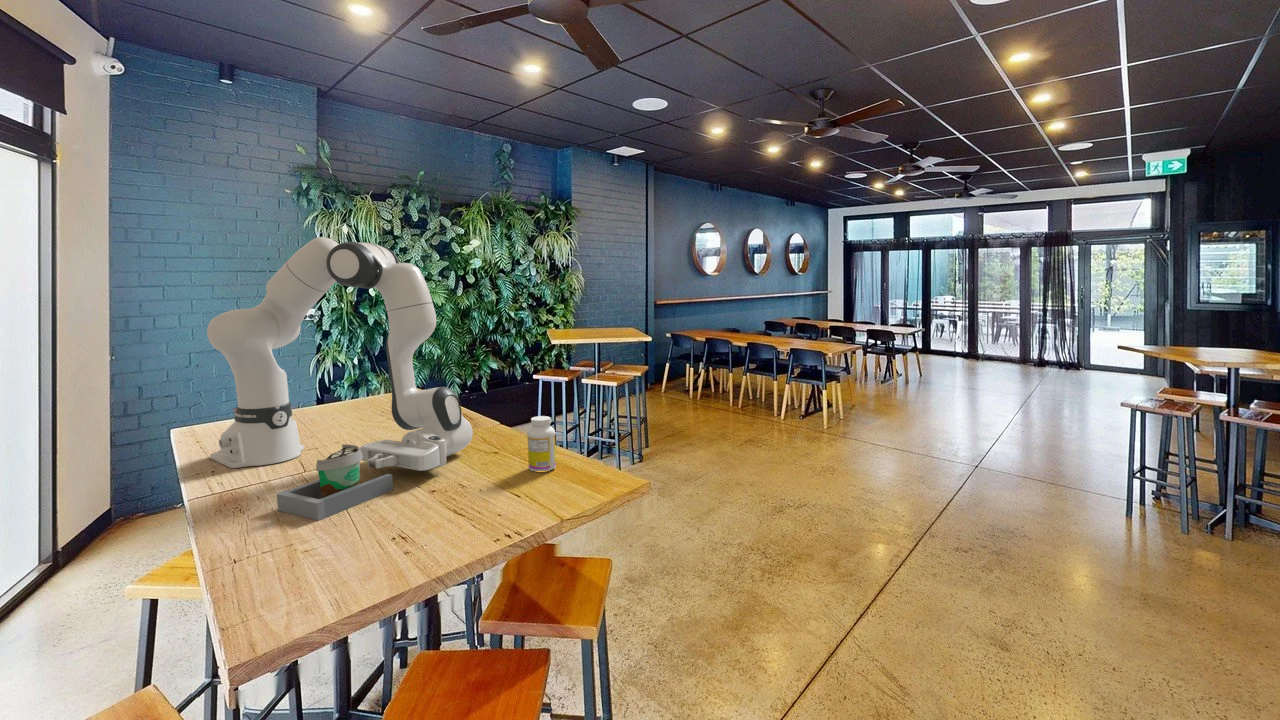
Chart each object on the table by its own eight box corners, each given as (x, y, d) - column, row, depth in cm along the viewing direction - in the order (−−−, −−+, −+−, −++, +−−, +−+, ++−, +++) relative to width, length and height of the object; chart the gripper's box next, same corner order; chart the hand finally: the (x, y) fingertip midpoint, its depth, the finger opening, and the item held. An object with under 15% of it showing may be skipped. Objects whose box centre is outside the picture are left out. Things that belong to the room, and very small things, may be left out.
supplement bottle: (542, 463, 146) (541, 413, 144) (561, 468, 142) (560, 417, 140) (522, 470, 140) (521, 418, 139) (542, 475, 136) (540, 422, 135)
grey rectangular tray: (277, 510, 116) (276, 493, 115) (354, 482, 132) (353, 467, 132) (318, 520, 111) (317, 503, 110) (393, 489, 127) (392, 474, 127)
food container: (350, 507, 117) (346, 460, 116) (319, 508, 117) (315, 461, 116) (374, 486, 129) (371, 443, 128) (346, 486, 129) (343, 443, 128)
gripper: (387, 431, 145) (338, 445, 133) (450, 440, 137) (404, 456, 124) (389, 455, 146) (340, 471, 134) (451, 465, 137) (405, 484, 125)
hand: (371, 464), depth 129 cm, fingers closed
